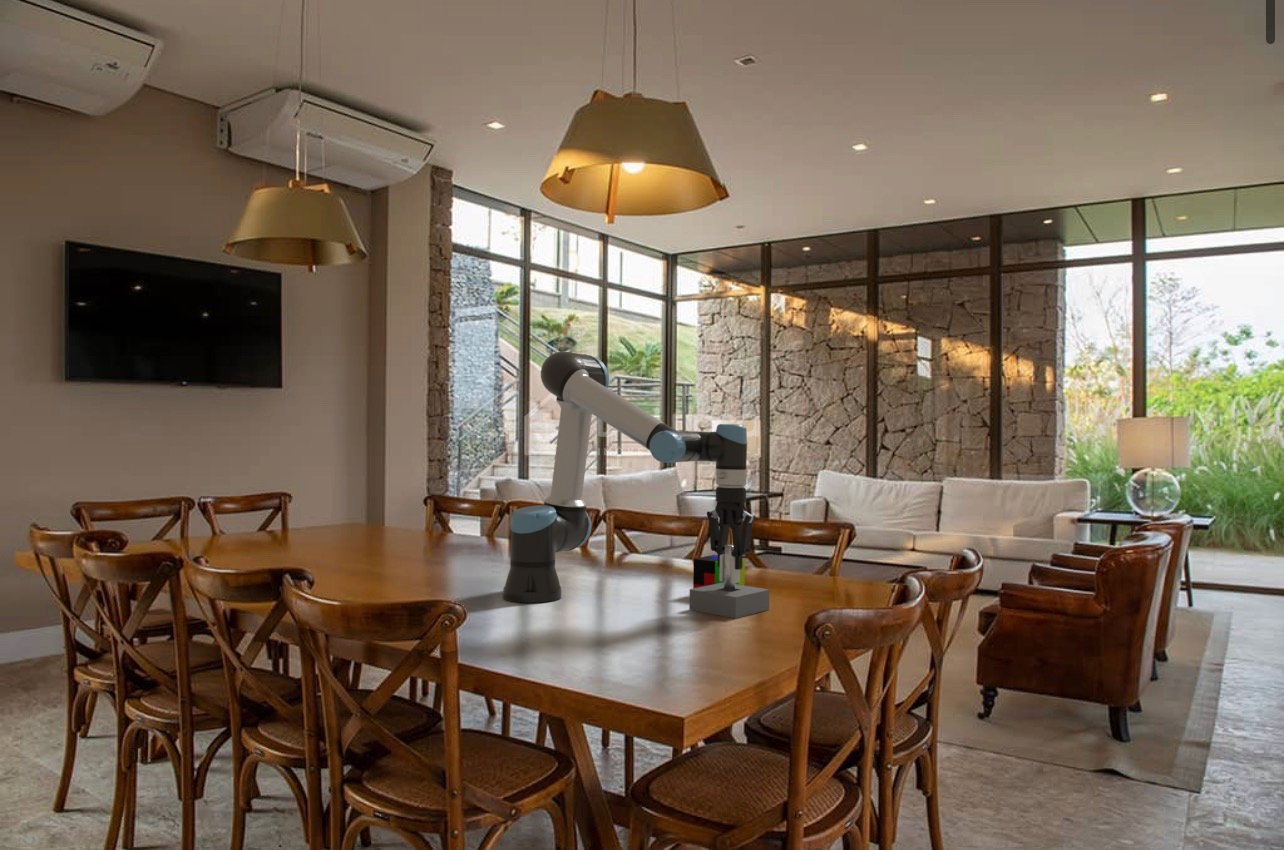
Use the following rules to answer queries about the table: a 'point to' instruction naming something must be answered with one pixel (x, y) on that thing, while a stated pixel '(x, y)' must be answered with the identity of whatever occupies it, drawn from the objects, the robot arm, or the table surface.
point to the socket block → (729, 600)
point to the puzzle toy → (711, 572)
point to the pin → (728, 568)
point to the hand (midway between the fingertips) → (729, 581)
